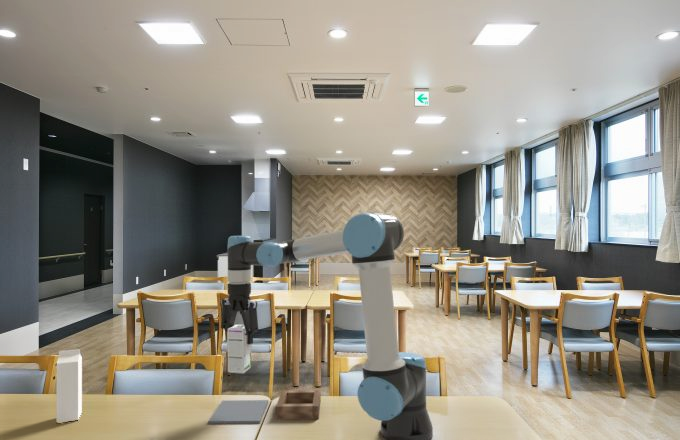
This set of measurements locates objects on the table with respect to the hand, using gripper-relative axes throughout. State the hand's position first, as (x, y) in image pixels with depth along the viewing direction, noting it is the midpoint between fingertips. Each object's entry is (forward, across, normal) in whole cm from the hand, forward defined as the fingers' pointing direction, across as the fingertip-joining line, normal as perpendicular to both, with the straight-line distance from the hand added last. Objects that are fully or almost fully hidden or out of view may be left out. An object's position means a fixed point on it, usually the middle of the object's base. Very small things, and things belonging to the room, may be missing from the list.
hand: (239, 352), depth 143 cm
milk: (+20, +45, +30) cm, 58 cm away
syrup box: (+6, 0, 0) cm, 6 cm away
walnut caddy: (+20, -16, -11) cm, 28 cm away
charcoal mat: (+20, 0, 0) cm, 20 cm away
